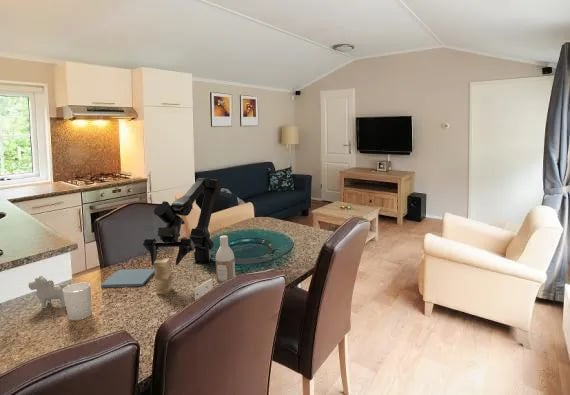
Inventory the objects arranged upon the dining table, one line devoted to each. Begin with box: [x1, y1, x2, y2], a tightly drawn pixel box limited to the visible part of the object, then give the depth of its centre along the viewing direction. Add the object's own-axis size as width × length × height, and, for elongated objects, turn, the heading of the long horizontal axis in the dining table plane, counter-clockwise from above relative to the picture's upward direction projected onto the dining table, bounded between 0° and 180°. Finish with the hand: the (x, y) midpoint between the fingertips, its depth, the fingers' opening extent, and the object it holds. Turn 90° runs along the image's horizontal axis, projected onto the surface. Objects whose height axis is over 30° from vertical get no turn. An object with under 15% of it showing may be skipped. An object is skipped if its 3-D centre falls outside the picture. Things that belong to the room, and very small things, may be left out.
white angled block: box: [194, 278, 214, 301], centre depth 127 cm, size 4×10×9 cm, turn 84°
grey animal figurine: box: [28, 275, 68, 309], centre depth 130 cm, size 5×13×11 cm, turn 93°
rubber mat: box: [100, 268, 155, 288], centre depth 154 cm, size 16×16×1 cm
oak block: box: [153, 257, 173, 295], centre depth 140 cm, size 4×4×12 cm
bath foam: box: [215, 235, 236, 285], centre depth 141 cm, size 7×7×20 cm
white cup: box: [63, 281, 93, 321], centre depth 122 cm, size 8×8×10 cm
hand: (164, 264), depth 141 cm, fingers open, 9 cm apart
